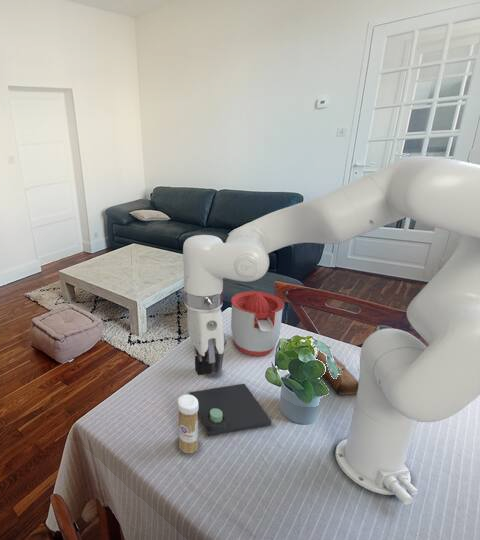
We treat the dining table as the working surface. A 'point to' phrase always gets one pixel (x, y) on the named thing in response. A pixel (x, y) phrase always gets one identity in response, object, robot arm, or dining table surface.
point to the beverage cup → (217, 362)
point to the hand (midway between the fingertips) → (203, 372)
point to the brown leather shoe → (340, 378)
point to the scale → (230, 409)
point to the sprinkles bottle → (188, 423)
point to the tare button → (216, 415)
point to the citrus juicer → (256, 322)
